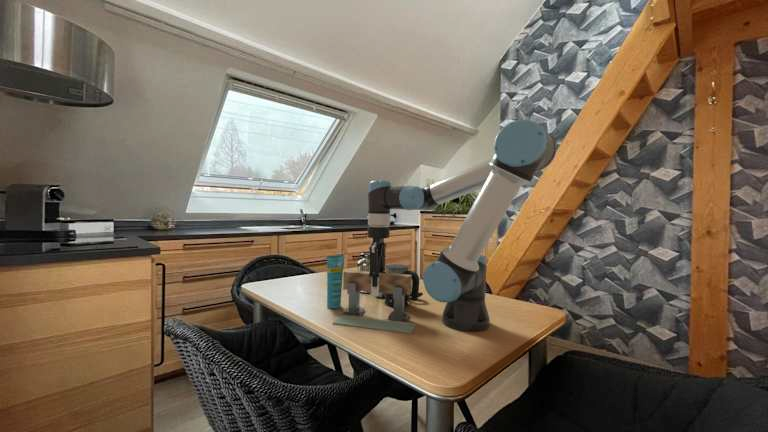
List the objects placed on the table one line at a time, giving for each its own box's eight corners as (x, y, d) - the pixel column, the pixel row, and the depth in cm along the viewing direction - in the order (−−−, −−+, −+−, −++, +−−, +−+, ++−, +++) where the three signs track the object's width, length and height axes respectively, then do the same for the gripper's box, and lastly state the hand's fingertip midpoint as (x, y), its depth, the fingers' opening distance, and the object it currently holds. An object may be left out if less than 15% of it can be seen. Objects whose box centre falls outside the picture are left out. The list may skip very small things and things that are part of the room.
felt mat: (415, 324, 108) (415, 323, 108) (411, 333, 100) (411, 332, 100) (341, 316, 114) (341, 314, 114) (332, 323, 106) (332, 322, 106)
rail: (411, 292, 115) (411, 274, 115) (409, 295, 111) (409, 277, 111) (347, 286, 121) (347, 270, 121) (343, 289, 117) (343, 271, 117)
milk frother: (381, 305, 127) (382, 266, 127) (390, 295, 143) (391, 260, 142) (418, 309, 124) (420, 269, 124) (424, 298, 139) (425, 263, 139)
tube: (329, 310, 120) (331, 256, 120) (321, 307, 123) (323, 254, 123) (346, 306, 125) (347, 254, 125) (338, 303, 129) (339, 253, 128)
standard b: (364, 310, 120) (365, 280, 120) (359, 316, 114) (360, 284, 114) (348, 309, 122) (349, 278, 122) (342, 314, 116) (343, 282, 115)
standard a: (409, 315, 117) (410, 284, 116) (405, 321, 110) (406, 288, 110) (392, 313, 118) (393, 282, 118) (387, 319, 112) (388, 286, 112)
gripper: (374, 224, 125) (373, 287, 125) (360, 226, 108) (358, 299, 109) (394, 225, 123) (393, 289, 123) (383, 227, 106) (381, 301, 107)
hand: (376, 294), depth 116 cm, fingers closed on rail, 4 cm apart
